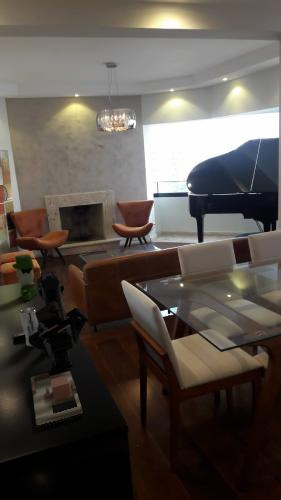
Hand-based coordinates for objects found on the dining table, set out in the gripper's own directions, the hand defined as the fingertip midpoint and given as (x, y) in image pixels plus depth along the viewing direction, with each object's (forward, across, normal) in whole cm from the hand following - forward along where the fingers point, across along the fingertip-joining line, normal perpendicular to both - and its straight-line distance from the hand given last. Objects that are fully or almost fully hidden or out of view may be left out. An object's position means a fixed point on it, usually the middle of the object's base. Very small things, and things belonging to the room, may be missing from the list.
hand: (62, 350), depth 112 cm
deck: (+4, -13, +13) cm, 19 cm away
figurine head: (-98, -46, +59) cm, 123 cm away
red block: (+4, -10, +13) cm, 17 cm away
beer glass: (-36, -29, +30) cm, 55 cm away
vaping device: (-27, -22, +28) cm, 44 cm away
